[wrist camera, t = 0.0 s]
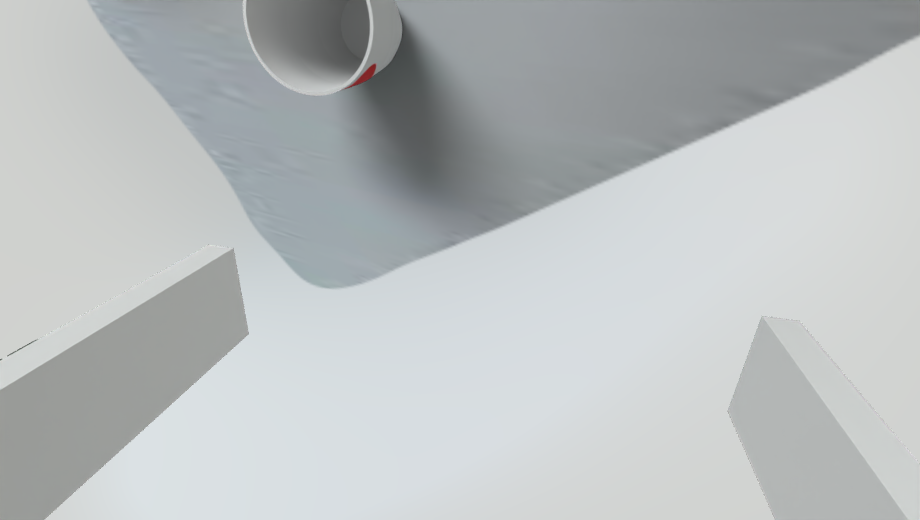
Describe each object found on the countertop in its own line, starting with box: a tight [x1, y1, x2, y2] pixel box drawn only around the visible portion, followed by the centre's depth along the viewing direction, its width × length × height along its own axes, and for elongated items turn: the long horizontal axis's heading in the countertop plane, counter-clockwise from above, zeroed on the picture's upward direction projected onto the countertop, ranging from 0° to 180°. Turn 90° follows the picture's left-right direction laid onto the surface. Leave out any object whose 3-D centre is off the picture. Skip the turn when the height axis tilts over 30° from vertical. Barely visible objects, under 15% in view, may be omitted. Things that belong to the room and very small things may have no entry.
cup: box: [243, 0, 402, 96], centre depth 32 cm, size 8×8×10 cm
